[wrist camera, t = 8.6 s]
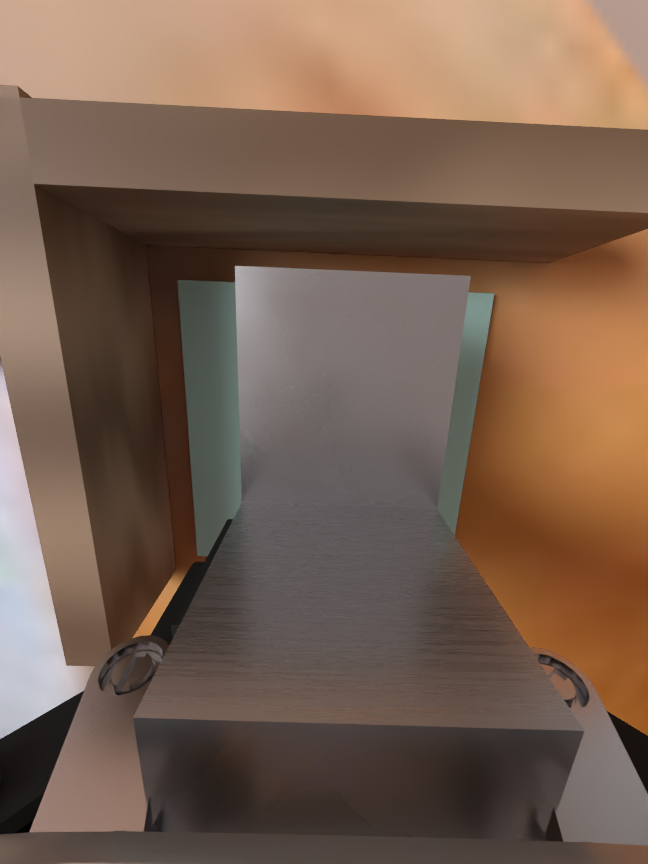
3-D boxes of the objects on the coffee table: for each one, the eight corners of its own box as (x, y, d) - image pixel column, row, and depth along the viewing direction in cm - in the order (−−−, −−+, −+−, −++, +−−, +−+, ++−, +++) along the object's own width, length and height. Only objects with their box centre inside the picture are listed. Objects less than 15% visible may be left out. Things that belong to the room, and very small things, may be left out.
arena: (485, 578, 16) (553, 677, 12) (142, 568, 16) (66, 665, 11) (558, 208, 12) (714, 122, 7) (95, 186, 12) (-59, 81, 7)
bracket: (407, 546, 11) (536, 867, 4) (258, 541, 11) (154, 858, 4) (439, 289, 9) (791, 136, 2) (254, 281, 9) (35, 100, 2)
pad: (447, 559, 16) (450, 563, 16) (199, 552, 16) (197, 556, 16) (490, 294, 13) (494, 293, 13) (180, 281, 13) (177, 279, 12)
